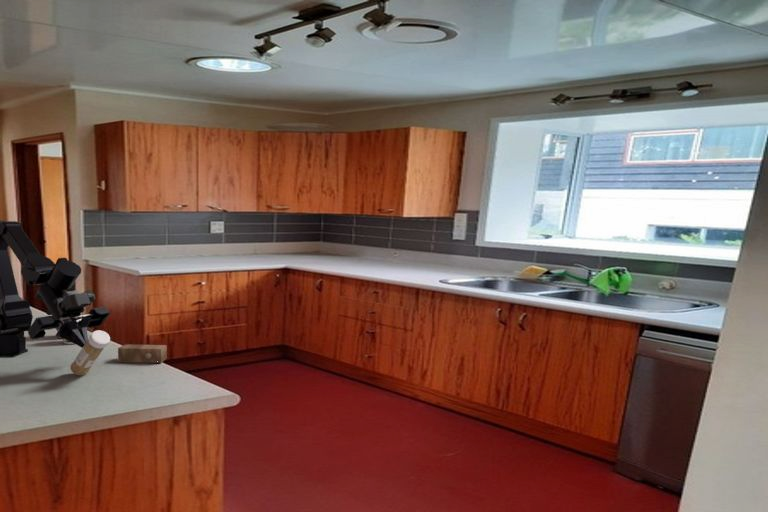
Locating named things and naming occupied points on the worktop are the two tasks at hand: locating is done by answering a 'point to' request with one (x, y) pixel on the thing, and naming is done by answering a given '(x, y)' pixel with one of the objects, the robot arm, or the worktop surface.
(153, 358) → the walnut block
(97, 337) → the sprinkles bottle
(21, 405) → the worktop surface
